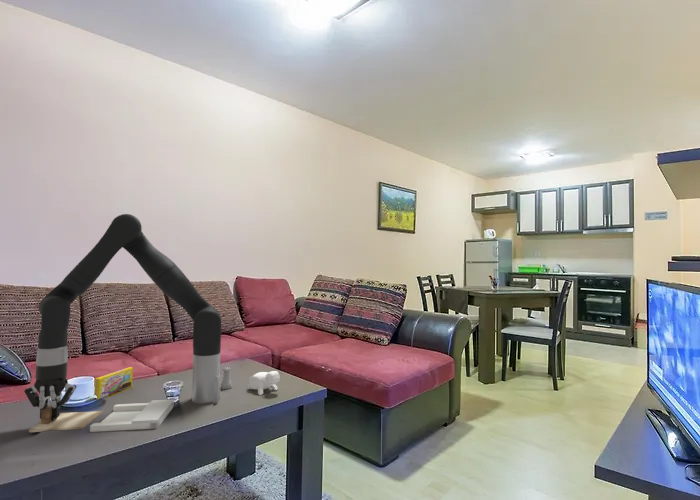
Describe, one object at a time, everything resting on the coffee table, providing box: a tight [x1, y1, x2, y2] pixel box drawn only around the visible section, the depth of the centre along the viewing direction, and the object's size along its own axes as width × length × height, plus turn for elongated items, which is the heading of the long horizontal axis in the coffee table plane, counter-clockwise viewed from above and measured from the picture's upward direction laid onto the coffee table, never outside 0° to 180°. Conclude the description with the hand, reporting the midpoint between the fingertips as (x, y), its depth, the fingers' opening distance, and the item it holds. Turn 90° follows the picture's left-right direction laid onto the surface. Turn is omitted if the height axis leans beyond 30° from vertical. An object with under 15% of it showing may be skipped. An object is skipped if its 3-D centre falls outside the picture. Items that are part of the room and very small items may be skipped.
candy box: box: [93, 366, 134, 400], centre depth 143 cm, size 16×2×8 cm, turn 168°
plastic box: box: [89, 399, 175, 433], centre depth 119 cm, size 18×17×3 cm
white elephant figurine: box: [247, 370, 281, 396], centre depth 149 cm, size 9×8×15 cm
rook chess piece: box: [220, 366, 233, 390], centre depth 153 cm, size 4×4×8 cm
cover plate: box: [28, 403, 103, 433], centre depth 116 cm, size 14×12×5 cm
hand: (49, 419), depth 115 cm, fingers closed on cover plate
